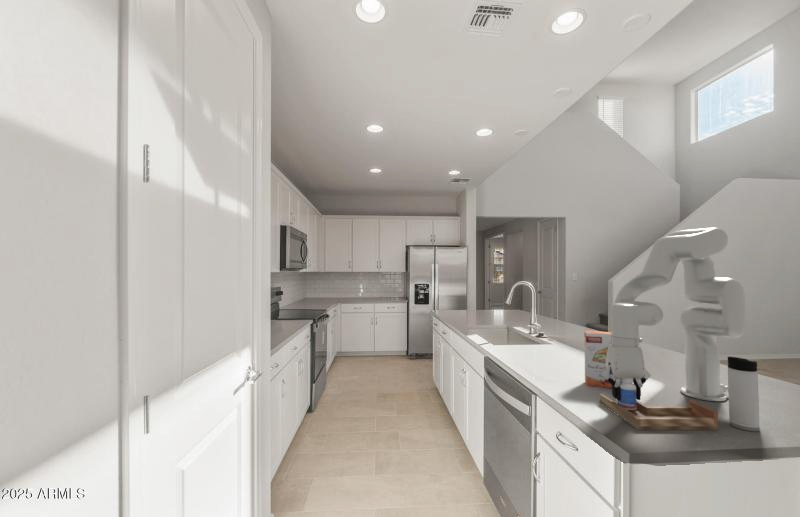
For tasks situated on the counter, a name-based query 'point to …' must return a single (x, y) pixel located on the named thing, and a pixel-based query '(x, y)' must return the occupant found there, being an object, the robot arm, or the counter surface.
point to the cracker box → (596, 357)
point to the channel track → (666, 416)
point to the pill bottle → (627, 394)
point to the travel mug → (743, 394)
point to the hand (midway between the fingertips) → (626, 397)
